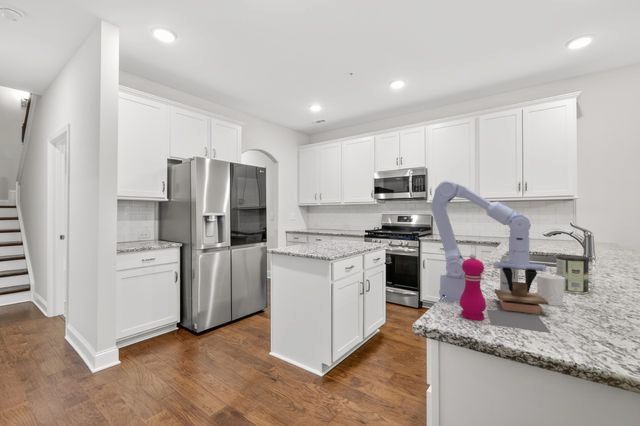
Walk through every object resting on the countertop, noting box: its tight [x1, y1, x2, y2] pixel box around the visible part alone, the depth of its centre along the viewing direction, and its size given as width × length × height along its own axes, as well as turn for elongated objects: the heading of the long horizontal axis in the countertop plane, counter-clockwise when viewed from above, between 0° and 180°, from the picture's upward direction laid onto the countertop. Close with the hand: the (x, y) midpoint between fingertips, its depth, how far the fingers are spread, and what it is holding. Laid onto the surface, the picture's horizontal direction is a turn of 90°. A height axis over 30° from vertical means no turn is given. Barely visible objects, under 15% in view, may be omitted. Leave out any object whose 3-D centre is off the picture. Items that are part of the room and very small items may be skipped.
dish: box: [498, 299, 541, 315], centre depth 100 cm, size 10×10×3 cm
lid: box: [493, 281, 549, 306], centre depth 100 cm, size 13×13×5 cm
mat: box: [486, 308, 552, 334], centre depth 89 cm, size 14×14×1 cm
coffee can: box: [555, 254, 590, 295], centre depth 122 cm, size 10×10×14 cm
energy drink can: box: [499, 254, 519, 291], centre depth 118 cm, size 6×6×15 cm
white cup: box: [536, 273, 565, 307], centre depth 105 cm, size 8×8×10 cm
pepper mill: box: [459, 253, 487, 321], centre depth 92 cm, size 7×7×20 cm
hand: (518, 291), depth 100 cm, fingers closed on lid, 4 cm apart
